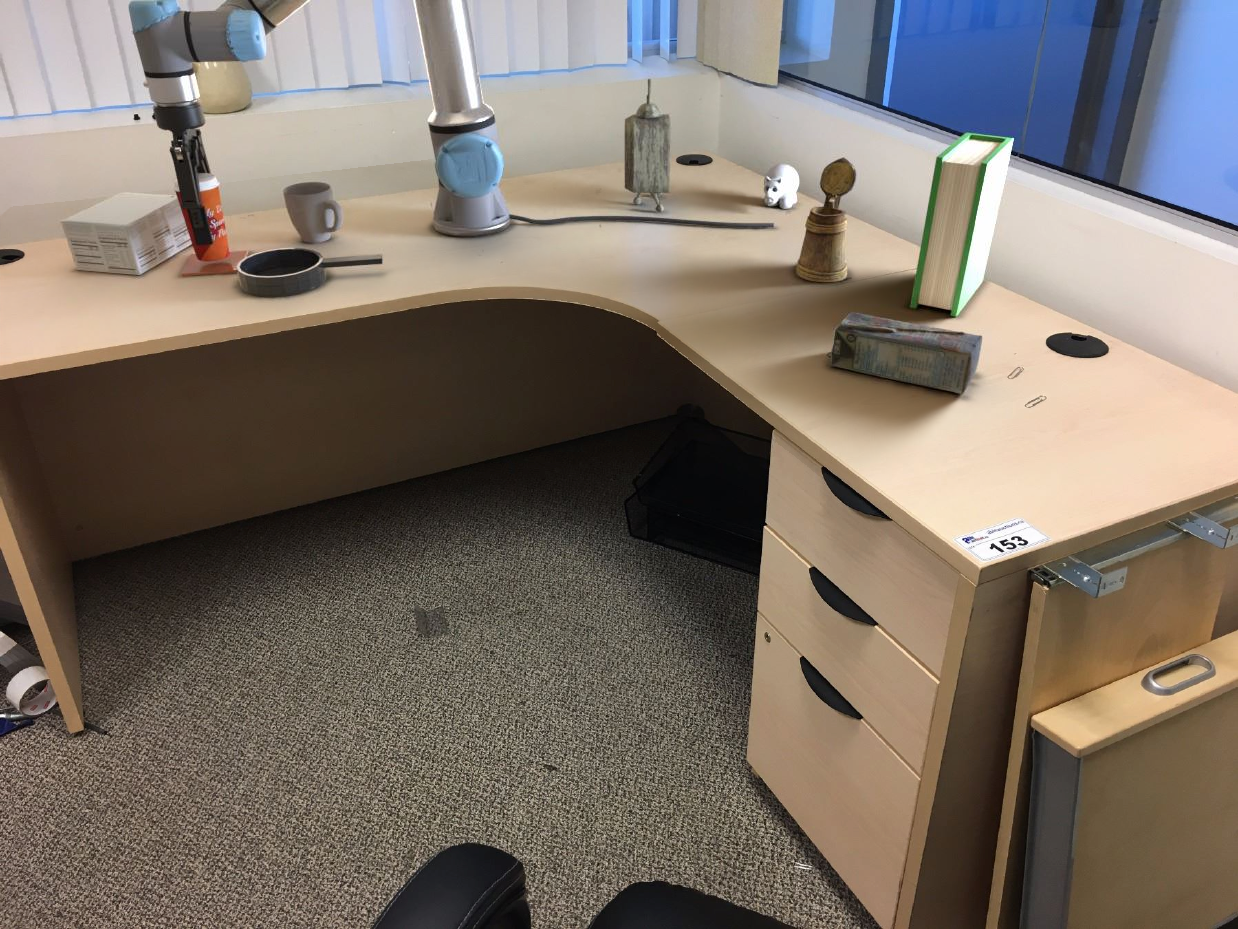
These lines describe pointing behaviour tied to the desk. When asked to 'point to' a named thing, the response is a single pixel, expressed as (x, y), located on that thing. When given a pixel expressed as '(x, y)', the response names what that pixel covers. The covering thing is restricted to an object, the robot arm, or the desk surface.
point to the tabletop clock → (647, 151)
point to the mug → (313, 210)
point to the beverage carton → (906, 352)
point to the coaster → (213, 265)
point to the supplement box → (127, 233)
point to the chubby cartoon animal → (781, 186)
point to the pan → (281, 272)
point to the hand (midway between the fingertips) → (209, 235)
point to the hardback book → (960, 220)
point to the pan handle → (352, 261)
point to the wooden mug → (827, 228)
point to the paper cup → (214, 216)
